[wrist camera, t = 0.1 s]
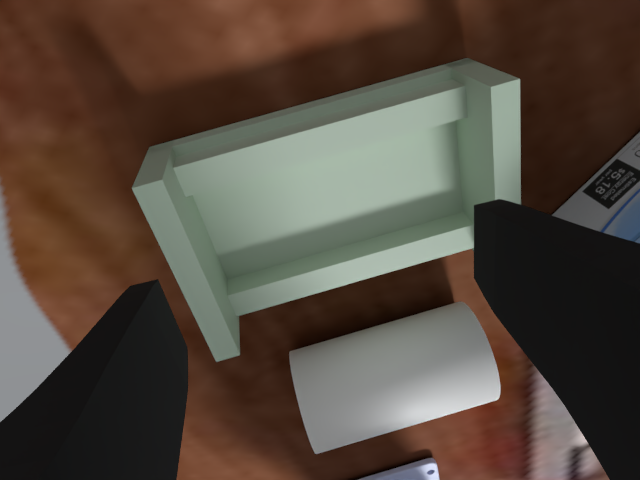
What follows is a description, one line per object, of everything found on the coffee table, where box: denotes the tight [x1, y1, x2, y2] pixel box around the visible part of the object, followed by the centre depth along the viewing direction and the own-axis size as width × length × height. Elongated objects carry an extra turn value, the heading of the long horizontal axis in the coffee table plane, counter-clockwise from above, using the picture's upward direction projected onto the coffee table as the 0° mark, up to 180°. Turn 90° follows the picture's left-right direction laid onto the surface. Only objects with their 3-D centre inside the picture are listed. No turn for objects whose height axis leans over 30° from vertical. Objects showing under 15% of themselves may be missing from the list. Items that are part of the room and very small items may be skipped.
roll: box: [289, 301, 500, 454], centre depth 24 cm, size 9×5×5 cm, turn 103°
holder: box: [132, 58, 521, 362], centre depth 19 cm, size 13×8×4 cm, turn 103°
